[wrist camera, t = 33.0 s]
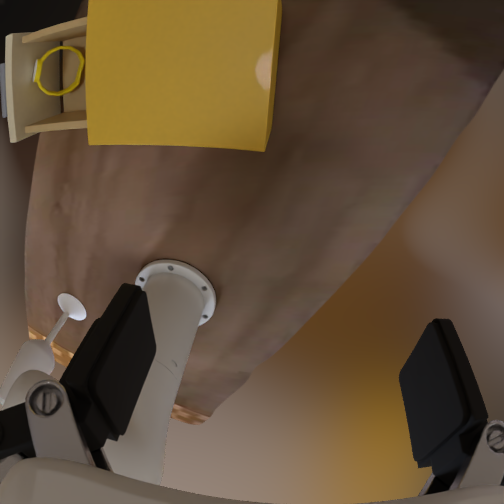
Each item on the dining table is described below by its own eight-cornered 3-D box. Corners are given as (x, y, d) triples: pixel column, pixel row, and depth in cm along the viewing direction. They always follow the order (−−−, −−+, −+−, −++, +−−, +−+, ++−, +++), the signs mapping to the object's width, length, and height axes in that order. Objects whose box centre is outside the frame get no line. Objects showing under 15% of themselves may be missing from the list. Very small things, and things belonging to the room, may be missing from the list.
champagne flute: (58, 310, 54) (-3, 403, 34) (57, 287, 51) (-14, 385, 30) (86, 325, 55) (29, 425, 35) (86, 302, 52) (20, 409, 31)
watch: (80, 96, 29) (32, 99, 25) (75, 92, 31) (30, 95, 27) (89, 46, 26) (39, 47, 22) (84, 45, 27) (37, 46, 23)
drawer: (32, 126, 34) (-12, 145, 26) (30, 41, 27) (-17, 46, 20) (152, 118, 33) (114, 135, 25) (155, 13, 26) (116, 1, 19)
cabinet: (137, 122, 34) (88, 145, 25) (140, 12, 27) (88, -1, 18) (271, 128, 33) (264, 152, 24) (282, 8, 26) (279, -17, 17)
